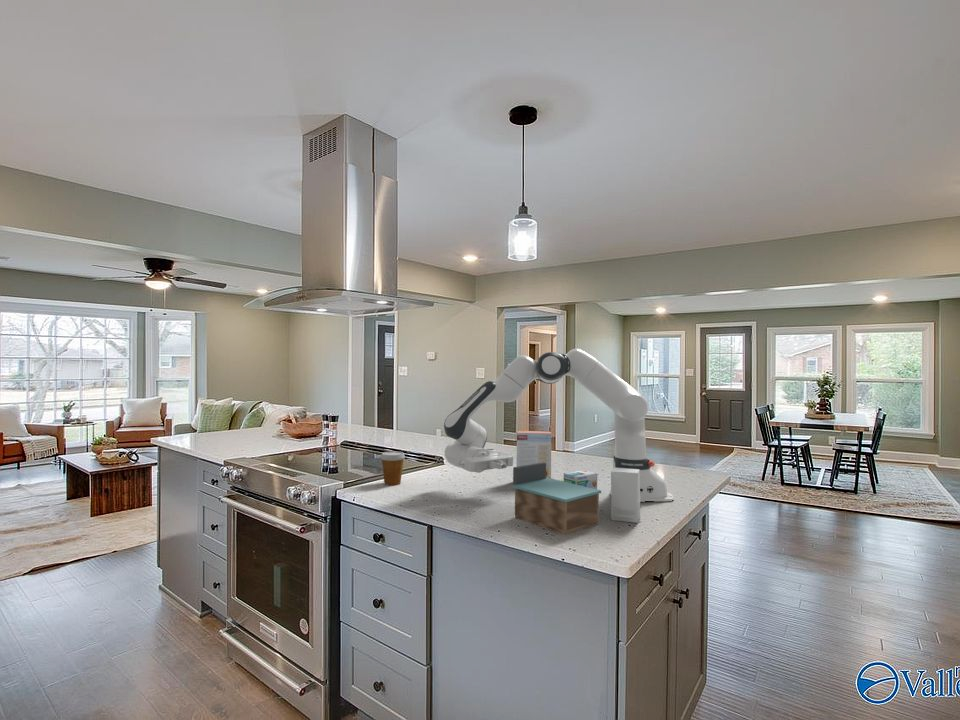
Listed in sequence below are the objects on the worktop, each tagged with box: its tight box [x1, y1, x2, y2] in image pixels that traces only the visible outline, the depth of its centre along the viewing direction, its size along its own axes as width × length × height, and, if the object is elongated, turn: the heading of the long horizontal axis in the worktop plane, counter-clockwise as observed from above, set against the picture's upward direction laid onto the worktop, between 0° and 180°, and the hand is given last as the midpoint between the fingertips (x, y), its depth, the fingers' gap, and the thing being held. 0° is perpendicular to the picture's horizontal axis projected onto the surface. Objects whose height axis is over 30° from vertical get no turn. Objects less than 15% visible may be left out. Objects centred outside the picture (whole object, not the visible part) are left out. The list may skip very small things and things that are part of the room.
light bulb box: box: [563, 469, 598, 490], centre depth 176 cm, size 11×7×11 cm, turn 126°
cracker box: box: [516, 430, 552, 479], centre depth 206 cm, size 14×6×21 cm, turn 84°
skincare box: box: [610, 468, 641, 524], centre depth 159 cm, size 8×7×16 cm
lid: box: [512, 462, 602, 502], centre depth 157 cm, size 22×17×6 cm
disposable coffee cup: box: [380, 450, 406, 486], centre depth 200 cm, size 10×10×12 cm
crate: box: [514, 488, 600, 535], centre depth 156 cm, size 20×16×9 cm
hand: (503, 466), depth 174 cm, fingers closed
